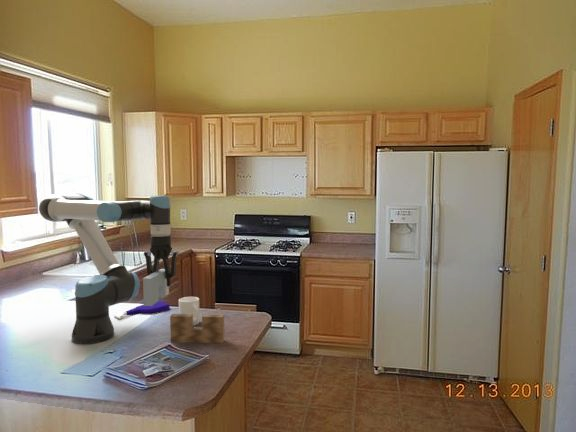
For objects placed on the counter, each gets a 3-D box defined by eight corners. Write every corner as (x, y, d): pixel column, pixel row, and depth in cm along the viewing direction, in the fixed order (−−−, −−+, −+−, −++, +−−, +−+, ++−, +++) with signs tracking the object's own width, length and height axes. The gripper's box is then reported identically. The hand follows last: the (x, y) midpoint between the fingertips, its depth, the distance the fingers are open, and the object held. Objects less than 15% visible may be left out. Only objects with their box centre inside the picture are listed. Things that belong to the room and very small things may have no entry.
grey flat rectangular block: (143, 305, 150) (143, 278, 150) (161, 293, 168) (161, 268, 168) (151, 305, 150) (151, 278, 149) (168, 293, 168) (168, 268, 167)
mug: (188, 330, 172) (188, 304, 171) (175, 323, 181) (175, 298, 180) (207, 326, 177) (206, 301, 176) (193, 319, 186) (193, 295, 186)
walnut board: (170, 342, 159) (170, 316, 158) (173, 339, 162) (172, 313, 161) (222, 343, 158) (222, 317, 157) (224, 340, 161) (224, 314, 160)
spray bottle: (161, 300, 208) (110, 310, 191) (171, 304, 200) (120, 316, 183) (161, 306, 208) (111, 317, 192) (171, 310, 200) (120, 322, 184)
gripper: (136, 236, 160) (138, 296, 161) (177, 236, 159) (179, 296, 160) (144, 234, 167) (145, 291, 169) (183, 234, 166) (185, 292, 168)
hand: (162, 294), depth 165 cm, fingers closed on grey flat rectangular block, 3 cm apart
